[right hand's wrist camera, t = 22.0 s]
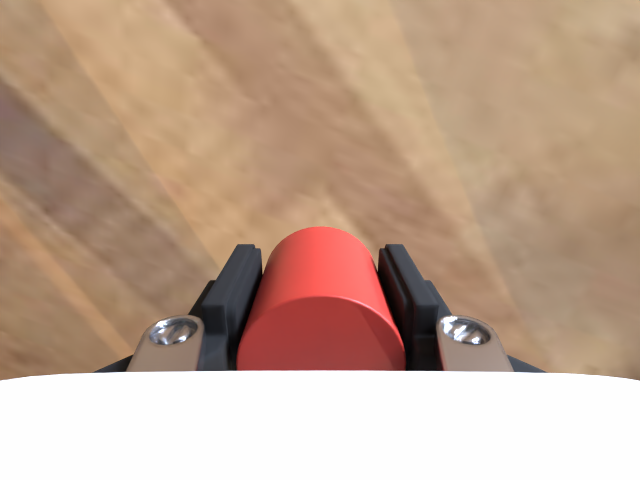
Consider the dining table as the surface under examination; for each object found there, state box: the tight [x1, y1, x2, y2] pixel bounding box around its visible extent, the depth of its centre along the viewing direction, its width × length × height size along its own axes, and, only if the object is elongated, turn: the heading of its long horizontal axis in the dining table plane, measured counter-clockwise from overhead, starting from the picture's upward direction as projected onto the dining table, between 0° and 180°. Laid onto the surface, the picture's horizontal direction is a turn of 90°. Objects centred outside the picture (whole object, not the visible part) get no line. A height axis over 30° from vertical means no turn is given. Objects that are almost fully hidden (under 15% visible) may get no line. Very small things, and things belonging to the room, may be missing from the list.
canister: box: [236, 227, 406, 371], centre depth 10 cm, size 4×4×5 cm
